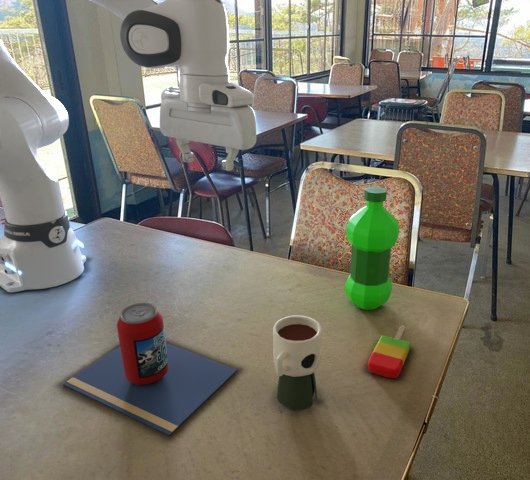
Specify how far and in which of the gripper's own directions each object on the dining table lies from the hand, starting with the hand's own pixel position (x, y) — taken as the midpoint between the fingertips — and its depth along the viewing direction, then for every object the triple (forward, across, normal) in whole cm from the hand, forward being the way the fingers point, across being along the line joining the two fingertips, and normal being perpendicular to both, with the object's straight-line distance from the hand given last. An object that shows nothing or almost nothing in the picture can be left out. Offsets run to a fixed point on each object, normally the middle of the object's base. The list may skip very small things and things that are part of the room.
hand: (207, 165), depth 92 cm
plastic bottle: (+27, +30, +13) cm, 43 cm away
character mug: (+28, +32, -19) cm, 46 cm away
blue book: (+29, +9, -26) cm, 40 cm away
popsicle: (+28, +41, 0) cm, 49 cm away
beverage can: (+29, +8, -26) cm, 39 cm away
